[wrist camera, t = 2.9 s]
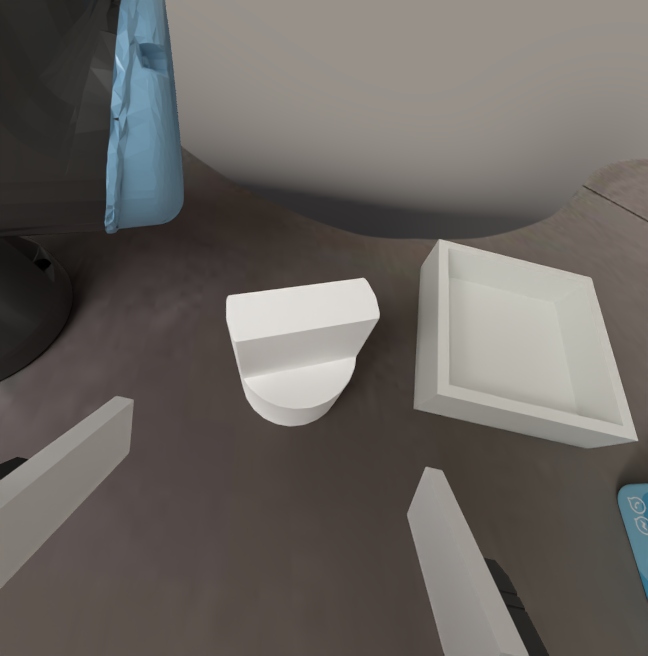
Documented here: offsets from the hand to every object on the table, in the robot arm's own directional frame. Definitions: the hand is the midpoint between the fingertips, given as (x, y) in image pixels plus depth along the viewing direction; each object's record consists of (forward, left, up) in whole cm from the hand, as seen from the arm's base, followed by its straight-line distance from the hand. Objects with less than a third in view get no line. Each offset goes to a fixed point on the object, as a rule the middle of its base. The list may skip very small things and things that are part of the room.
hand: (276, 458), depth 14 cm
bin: (+20, +16, -13) cm, 28 cm away
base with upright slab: (0, +8, -13) cm, 15 cm away
